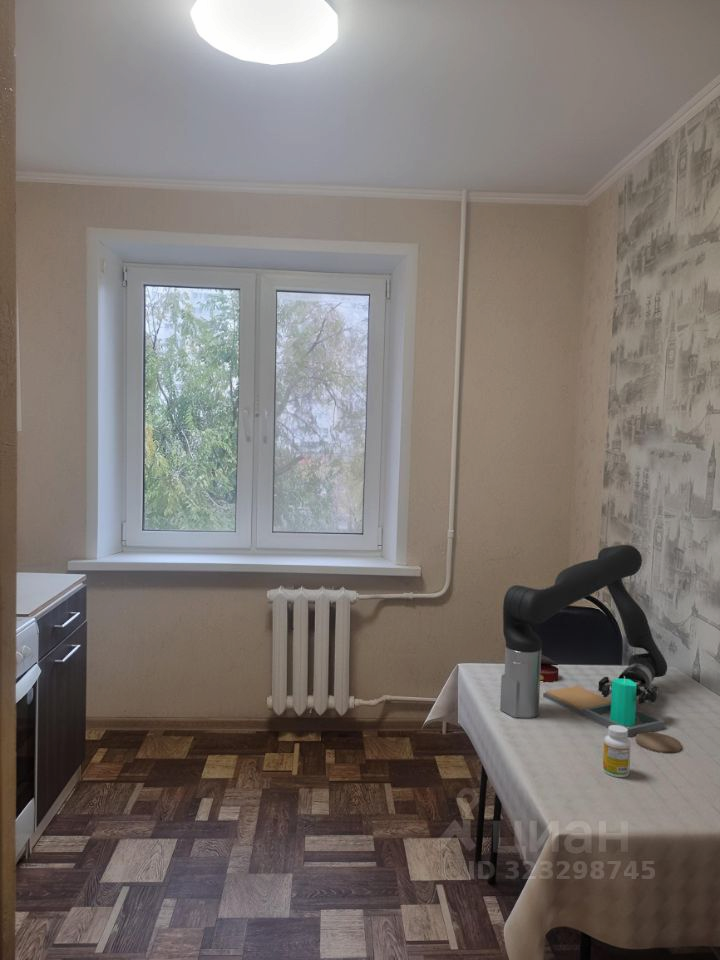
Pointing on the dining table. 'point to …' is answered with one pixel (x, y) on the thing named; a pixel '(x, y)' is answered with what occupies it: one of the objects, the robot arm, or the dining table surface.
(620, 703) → the candle
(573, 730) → the dining table surface
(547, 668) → the canned food
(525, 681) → the robot arm
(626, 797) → the dining table surface
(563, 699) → the case
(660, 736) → the coaster
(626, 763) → the supplement bottle
